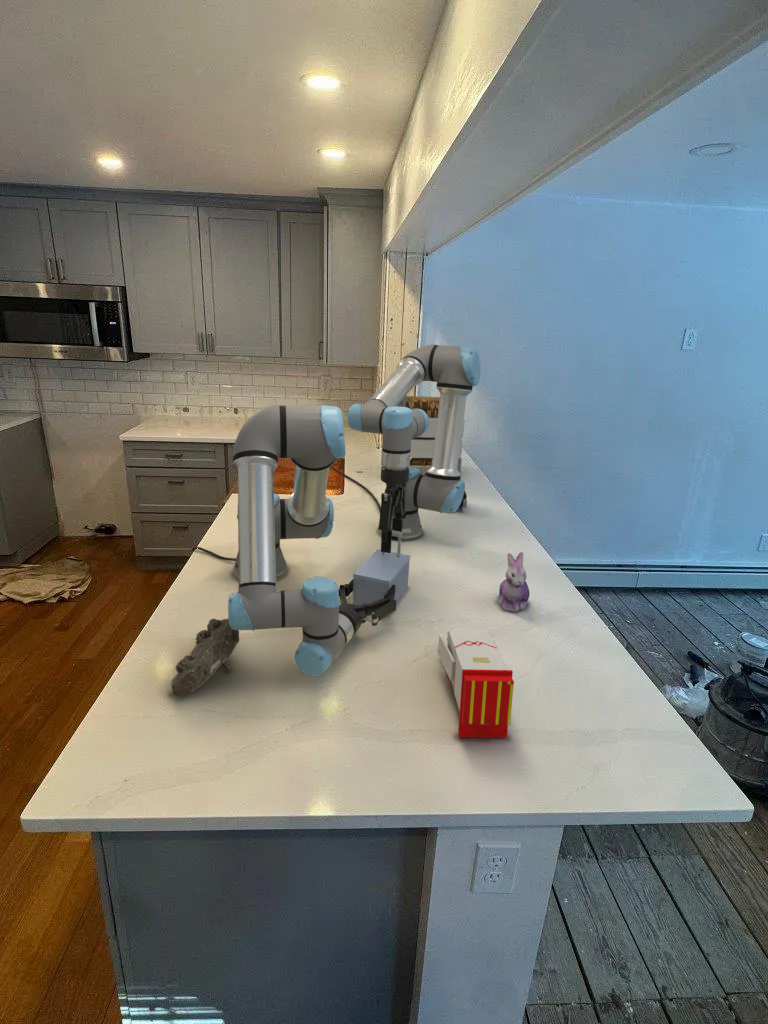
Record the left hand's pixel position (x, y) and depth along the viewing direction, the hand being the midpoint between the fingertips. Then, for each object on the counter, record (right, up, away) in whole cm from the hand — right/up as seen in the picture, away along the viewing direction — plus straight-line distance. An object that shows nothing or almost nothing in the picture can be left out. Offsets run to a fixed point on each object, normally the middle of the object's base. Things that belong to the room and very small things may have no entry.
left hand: (374, 585), depth 148 cm
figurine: (+38, -6, +7) cm, 39 cm away
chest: (+2, -4, +7) cm, 8 cm away
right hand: (+4, +10, +9) cm, 14 cm away
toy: (+20, -18, -30) cm, 41 cm away
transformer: (+20, +38, +127) cm, 134 cm away
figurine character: (+32, +21, +81) cm, 90 cm away
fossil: (-35, -15, -26) cm, 46 cm away
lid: (+2, +4, +4) cm, 6 cm away
